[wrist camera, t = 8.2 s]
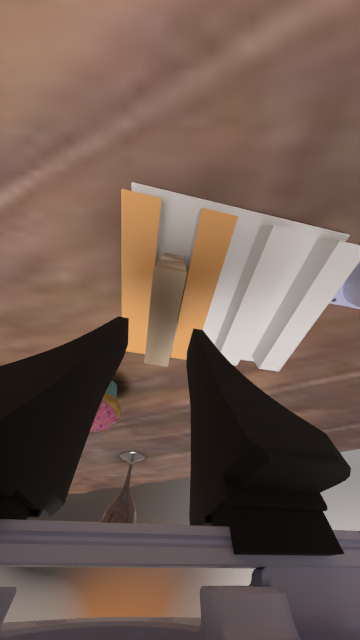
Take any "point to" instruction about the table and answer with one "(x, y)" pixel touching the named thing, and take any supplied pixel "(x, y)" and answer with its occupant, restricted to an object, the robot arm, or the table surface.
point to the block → (164, 307)
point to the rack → (230, 273)
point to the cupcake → (107, 410)
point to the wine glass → (124, 496)
